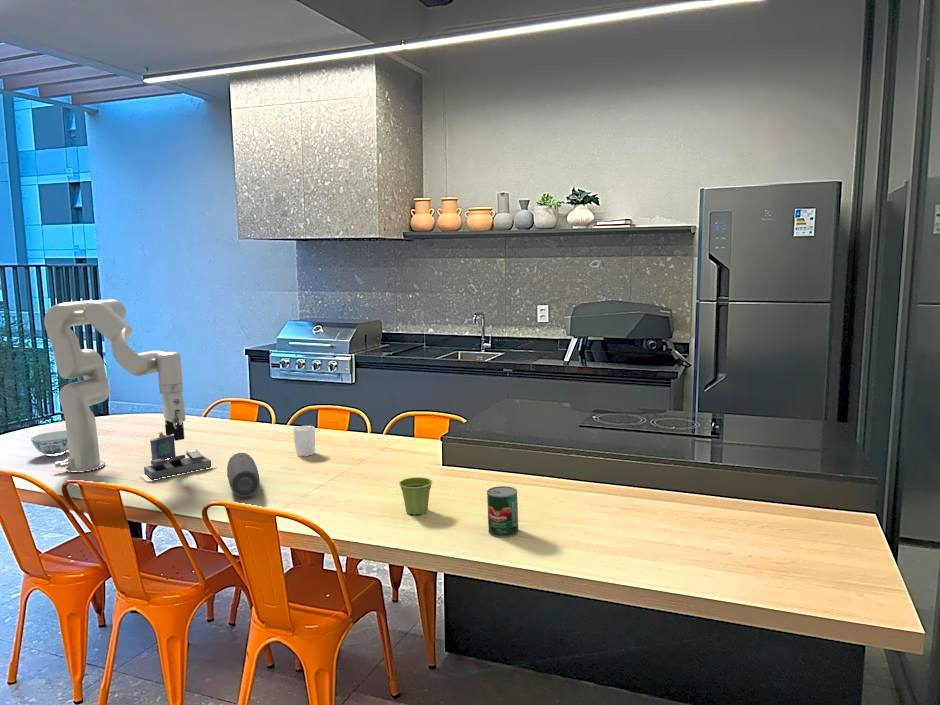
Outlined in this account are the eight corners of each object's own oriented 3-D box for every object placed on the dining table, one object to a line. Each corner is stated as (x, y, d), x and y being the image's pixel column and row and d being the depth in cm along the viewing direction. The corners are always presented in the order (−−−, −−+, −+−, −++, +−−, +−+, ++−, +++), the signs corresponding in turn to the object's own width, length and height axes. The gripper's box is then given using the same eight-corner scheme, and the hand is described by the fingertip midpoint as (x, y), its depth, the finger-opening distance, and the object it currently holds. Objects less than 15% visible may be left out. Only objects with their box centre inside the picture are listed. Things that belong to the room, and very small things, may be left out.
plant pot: (416, 503, 209) (415, 475, 208) (440, 510, 203) (439, 480, 202) (393, 513, 202) (392, 483, 201) (417, 520, 196) (416, 489, 195)
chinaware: (63, 459, 271) (61, 439, 270) (24, 460, 271) (22, 441, 270) (85, 448, 286) (83, 430, 285) (48, 450, 286) (46, 431, 285)
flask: (154, 464, 260) (151, 435, 259) (150, 463, 262) (147, 434, 260) (177, 458, 268) (174, 430, 266) (172, 457, 269) (170, 429, 268)
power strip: (147, 482, 238) (146, 472, 238) (139, 475, 247) (138, 466, 246) (216, 467, 253) (215, 458, 252) (206, 461, 261) (206, 452, 260)
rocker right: (192, 461, 249) (192, 457, 249) (186, 454, 254) (186, 451, 254) (203, 459, 251) (203, 455, 251) (196, 452, 256) (196, 449, 256)
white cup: (313, 456, 263) (311, 430, 261) (292, 457, 263) (290, 431, 261) (318, 451, 270) (317, 425, 269) (298, 451, 271) (296, 425, 269)
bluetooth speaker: (227, 482, 236) (224, 452, 235) (256, 478, 240) (253, 449, 238) (230, 503, 215) (227, 471, 214) (262, 498, 219) (259, 467, 217)
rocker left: (156, 465, 242) (156, 461, 242) (151, 464, 247) (150, 460, 247) (167, 463, 244) (167, 459, 244) (162, 462, 249) (161, 458, 249)
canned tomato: (517, 525, 190) (516, 485, 188) (520, 536, 182) (519, 495, 181) (487, 526, 190) (486, 486, 188) (489, 538, 182) (487, 496, 180)
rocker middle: (174, 460, 245) (173, 456, 245) (169, 462, 251) (168, 458, 251) (185, 458, 247) (184, 454, 248) (180, 460, 253) (179, 456, 253)
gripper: (190, 390, 240) (194, 440, 242) (175, 383, 253) (178, 430, 256) (167, 393, 235) (171, 444, 238) (152, 386, 249) (156, 434, 251)
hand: (175, 437), depth 247 cm, fingers open, 9 cm apart
